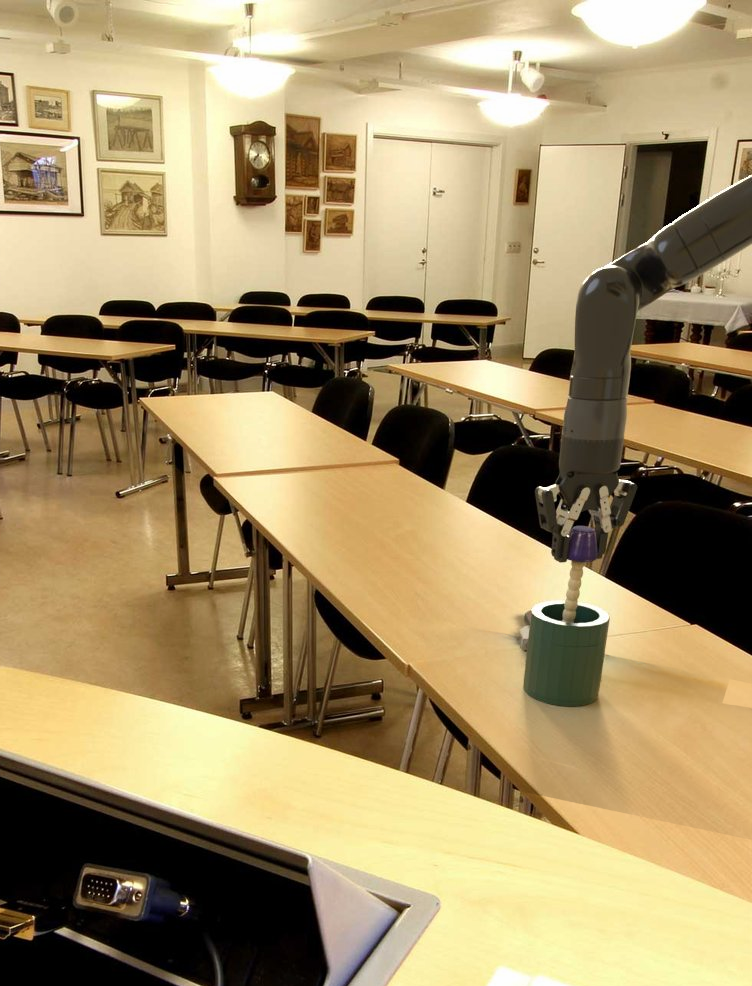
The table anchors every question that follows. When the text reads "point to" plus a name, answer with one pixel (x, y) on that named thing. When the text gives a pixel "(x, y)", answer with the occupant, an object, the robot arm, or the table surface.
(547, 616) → the green cylindrical cup
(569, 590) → the toy lamp
